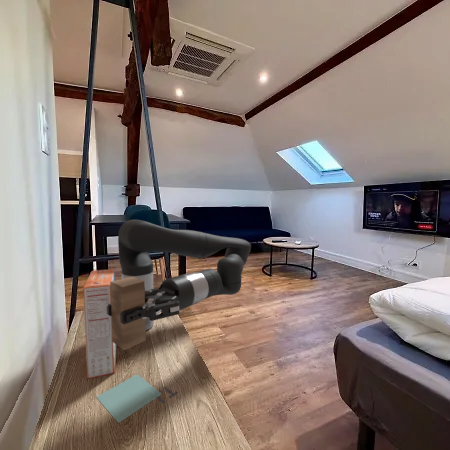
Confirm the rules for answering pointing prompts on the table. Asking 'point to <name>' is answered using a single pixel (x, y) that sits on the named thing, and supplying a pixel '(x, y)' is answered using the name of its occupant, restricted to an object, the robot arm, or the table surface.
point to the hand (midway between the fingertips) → (114, 314)
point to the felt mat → (128, 397)
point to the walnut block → (121, 301)
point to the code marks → (168, 392)
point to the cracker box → (99, 324)
